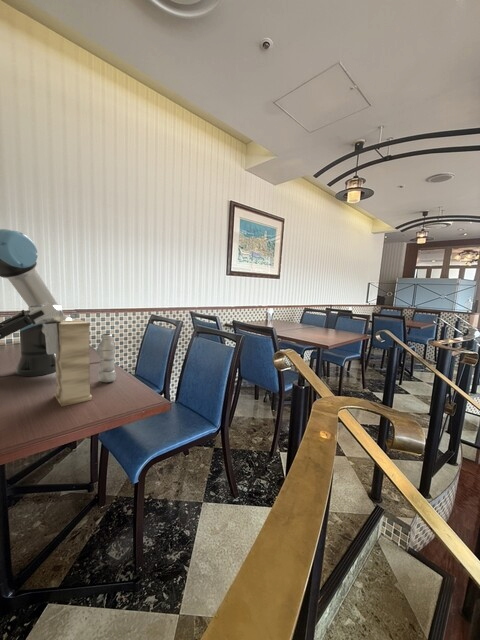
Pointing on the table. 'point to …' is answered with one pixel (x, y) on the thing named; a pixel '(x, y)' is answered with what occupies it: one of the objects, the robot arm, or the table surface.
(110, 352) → the plastic bottle
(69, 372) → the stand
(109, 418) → the table surface
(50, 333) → the grey round-headed handle
